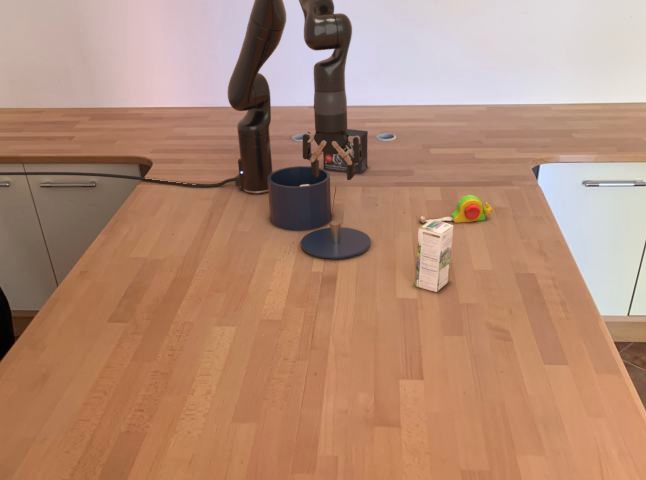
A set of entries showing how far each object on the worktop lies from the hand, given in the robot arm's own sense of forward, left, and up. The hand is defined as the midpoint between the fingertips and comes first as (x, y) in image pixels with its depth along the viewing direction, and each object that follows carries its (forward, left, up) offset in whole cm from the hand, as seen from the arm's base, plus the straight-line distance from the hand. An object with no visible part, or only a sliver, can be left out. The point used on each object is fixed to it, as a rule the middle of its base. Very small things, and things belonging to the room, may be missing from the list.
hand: (333, 177), depth 171 cm
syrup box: (+28, -15, -18) cm, 37 cm away
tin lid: (0, -1, -17) cm, 17 cm away
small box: (-16, +55, -18) cm, 60 cm away
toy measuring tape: (+26, +23, -18) cm, 39 cm away
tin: (-15, +13, -18) cm, 26 cm away
